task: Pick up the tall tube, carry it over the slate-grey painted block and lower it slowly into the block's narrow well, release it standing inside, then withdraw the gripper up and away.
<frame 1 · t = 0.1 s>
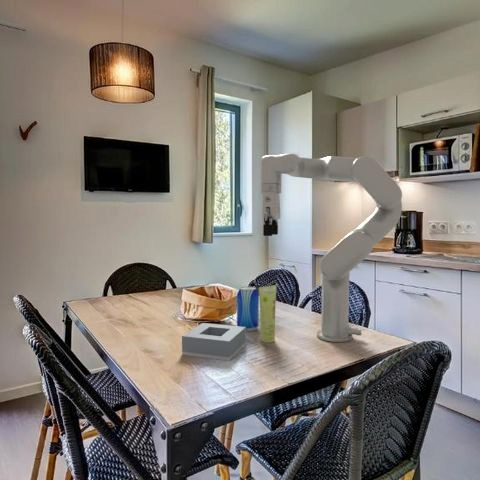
hand: (270, 235, 148), 37 cm above the table, tool pointing down, fingers open, 9 cm apart
beer can: (247, 329, 153), on the table
tube: (267, 341, 138), on the table
well: (215, 349, 129), on the table
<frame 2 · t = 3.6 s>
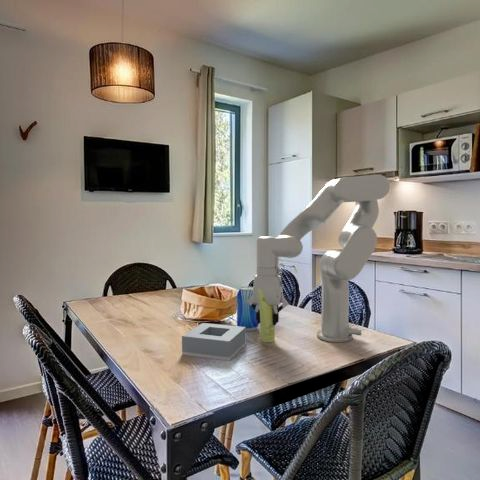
hand: (267, 322, 138), 6 cm above the table, tool pointing down, fingers closed on tube, 5 cm apart
tube: (267, 341, 138), on the table, touching gripper
everything else where it was.
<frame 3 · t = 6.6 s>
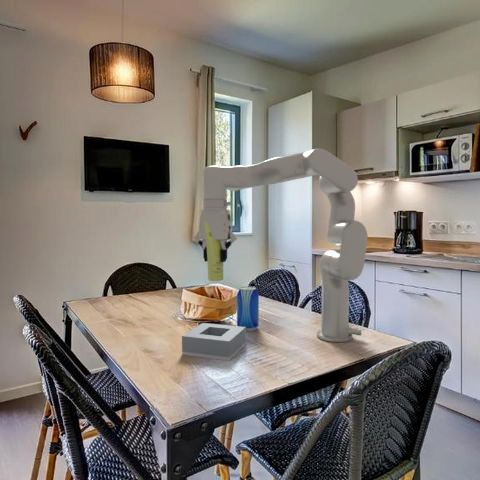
hand: (215, 260, 128), 29 cm above the table, tool pointing down, fingers closed on tube, 5 cm apart
tube: (215, 280, 128), point 23 cm above the table, touching gripper
everything else where it was.
when the fingers open (9 cm above the table, at t = 9.5 s): tube drops 1 cm, resting on well.
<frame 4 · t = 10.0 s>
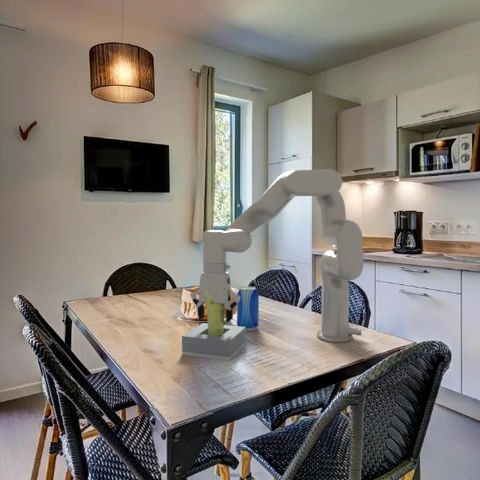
hand: (214, 320, 129), 10 cm above the table, tool pointing down, fingers open, 9 cm apart
tube: (215, 346, 129), point 1 cm above the table, touching well
everything else where it was.
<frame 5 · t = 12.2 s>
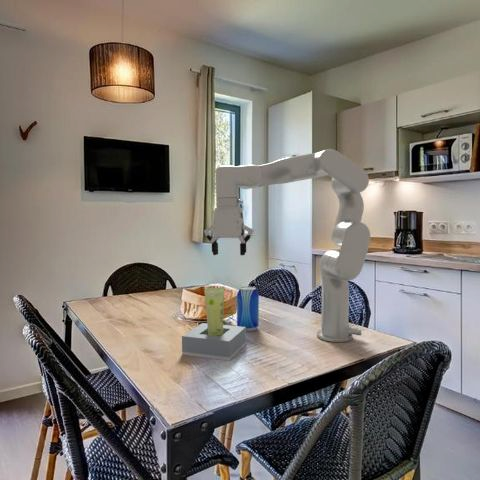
hand: (229, 254, 132), 31 cm above the table, tool pointing down, fingers open, 9 cm apart
nothing on the table moved.
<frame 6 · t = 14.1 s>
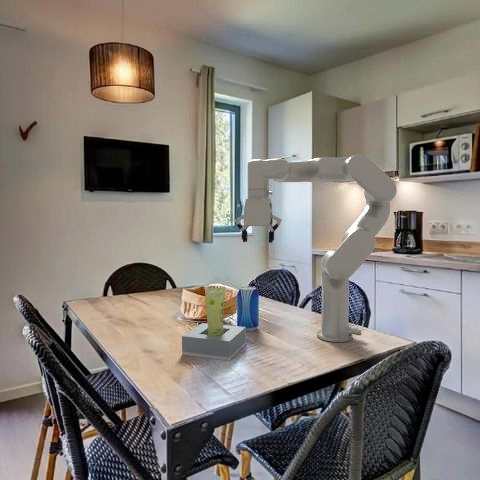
hand: (257, 242, 142), 34 cm above the table, tool pointing down, fingers open, 9 cm apart
nothing on the table moved.
at the end: tube 0.1 cm off-centre on the well, point 0.8 cm above the well's base; tube tilted 0°; the gripper is holding nothing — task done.
